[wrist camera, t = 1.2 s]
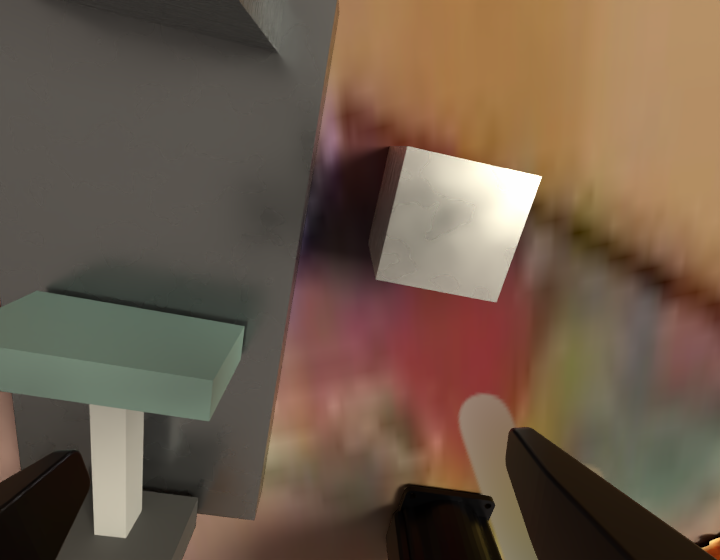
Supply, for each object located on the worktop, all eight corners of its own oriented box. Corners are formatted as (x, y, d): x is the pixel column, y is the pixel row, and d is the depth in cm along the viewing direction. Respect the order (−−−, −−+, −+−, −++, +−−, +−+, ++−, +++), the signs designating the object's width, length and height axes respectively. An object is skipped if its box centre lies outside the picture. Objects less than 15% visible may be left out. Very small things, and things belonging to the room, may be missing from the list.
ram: (244, 326, 19) (212, 380, 15) (221, 525, 24) (191, 612, 19) (37, 290, 18) (-65, 337, 14) (55, 505, 23) (-16, 592, 18)
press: (339, 11, 16) (331, -103, 9) (261, 493, 26) (225, 635, 18) (1, -76, 15) (-345, -297, 8) (48, 465, 25) (-84, 606, 17)
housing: (484, 167, 19) (541, 176, 13) (455, 259, 21) (496, 302, 15) (389, 146, 18) (407, 146, 13) (368, 242, 20) (375, 279, 14)
